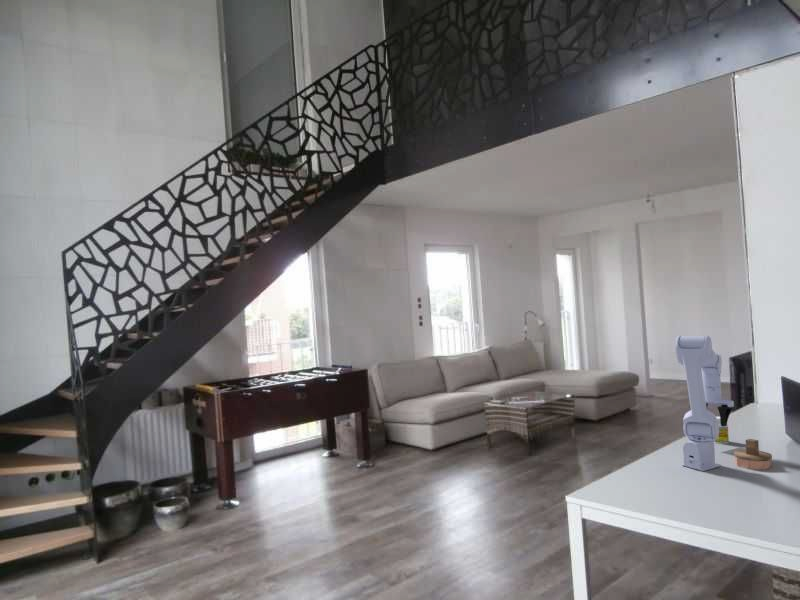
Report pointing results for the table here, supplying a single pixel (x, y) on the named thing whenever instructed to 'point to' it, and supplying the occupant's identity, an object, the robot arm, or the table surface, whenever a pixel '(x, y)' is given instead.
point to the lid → (752, 452)
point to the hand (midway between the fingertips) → (713, 424)
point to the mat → (731, 452)
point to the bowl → (752, 464)
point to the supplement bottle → (722, 433)
